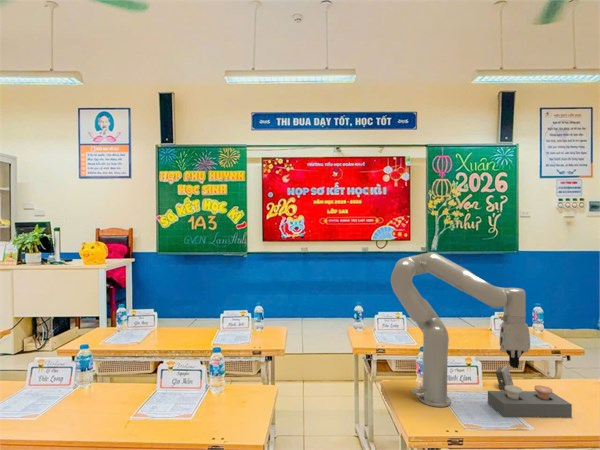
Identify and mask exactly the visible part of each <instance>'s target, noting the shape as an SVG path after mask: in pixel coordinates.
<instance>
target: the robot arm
mask: <svg viewBox="0 0 600 450" xmlns="http://www.w3.org/2000/svg"><path fill="white" fill-rule="evenodd" d="M427 273H428V274H431V275H432V276H434V277H436V278H438V279H439V280H441V281H443V282H445V283H447V284H449V285H451V286H452V287H453V288H456V289H457V290H459V291H461V292H464V293H465V294H467V295H469V296H471V297H472V298H475V299H477V300H478V301H479V302H482V303H483V304H485V305H487V306H489V307H490V308H493V309H502V308H503V315H502V316H500V321H503V322H501V325H500V331H499V346H500V347H499V351H500V352H502V353H506V354H507V356H509V357H508V359H509V361H508V363H509V366H510V367H511V368H513V369H519V365H520V358H521V356H522V355H523V354H526V353H528V352H530V351H529V350H530V349H531V336H530V330H529V325H528V324H527V323H526V291H525V289H523V288H520V287H519V288H518V287H500V286H495V285H492V284H491V283H490V282H488V281H485V280H484V279H482V278H480V277H479V276H477V275H476V274H474V273H472V271H470V270H469V269H466V268H465V267H463V266H461V265H460V264H457V263H455V262H453V261H452V260H450V259H448V258H446V257H444V256H443V255H442V254H441V255H440V254H438V253H437V252H435V251H434V252H433V251H430V252H425V253H420V254H417V255H411V256H407V257H402V258H400V259H399V260H398V261H397V262H396V263H395V266H394V268H393V270H392V272H391V277H390V283H391V288H392V291H393V293H394V295H395V296H396V297H397V299H398V300H399V302H400V303H401V305H402V306H403V308H404V309H405V311H406V312H407V314H408V316H409V318H410V319H411V320H412V321H413V322H415V323H416V325H417V327H418V328H419V329H420V330H421V332H422V336H423V339H422V340H423V344H422V345H423V346H422V386H420V388H418V389H410V395H415V397H418V400H419V401H420V402H421V403H423V404H425V405H427V406H431V407H435V408H436V407H437V408H442V407H448V406H450V405H451V404H452V399H451V398H450V396H448V358H449V357H448V355H449V354H448V353H449V340H450V339H449V338H450V336H449V333H448V330H447V328H446V325H445V324H444V322H443V321H442V320H441V318H440V317H439V316H438V314H437V313H436V311H435V309H433V307H432V306H431V304H430V303H429V302H428V300H427V299H425V298H423V297H422V295H421V294H420V292H419V290H418V289H417V287H416V286H415V285H414V283H413V277H414V276H417V275H423V274H427Z"/></svg>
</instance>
